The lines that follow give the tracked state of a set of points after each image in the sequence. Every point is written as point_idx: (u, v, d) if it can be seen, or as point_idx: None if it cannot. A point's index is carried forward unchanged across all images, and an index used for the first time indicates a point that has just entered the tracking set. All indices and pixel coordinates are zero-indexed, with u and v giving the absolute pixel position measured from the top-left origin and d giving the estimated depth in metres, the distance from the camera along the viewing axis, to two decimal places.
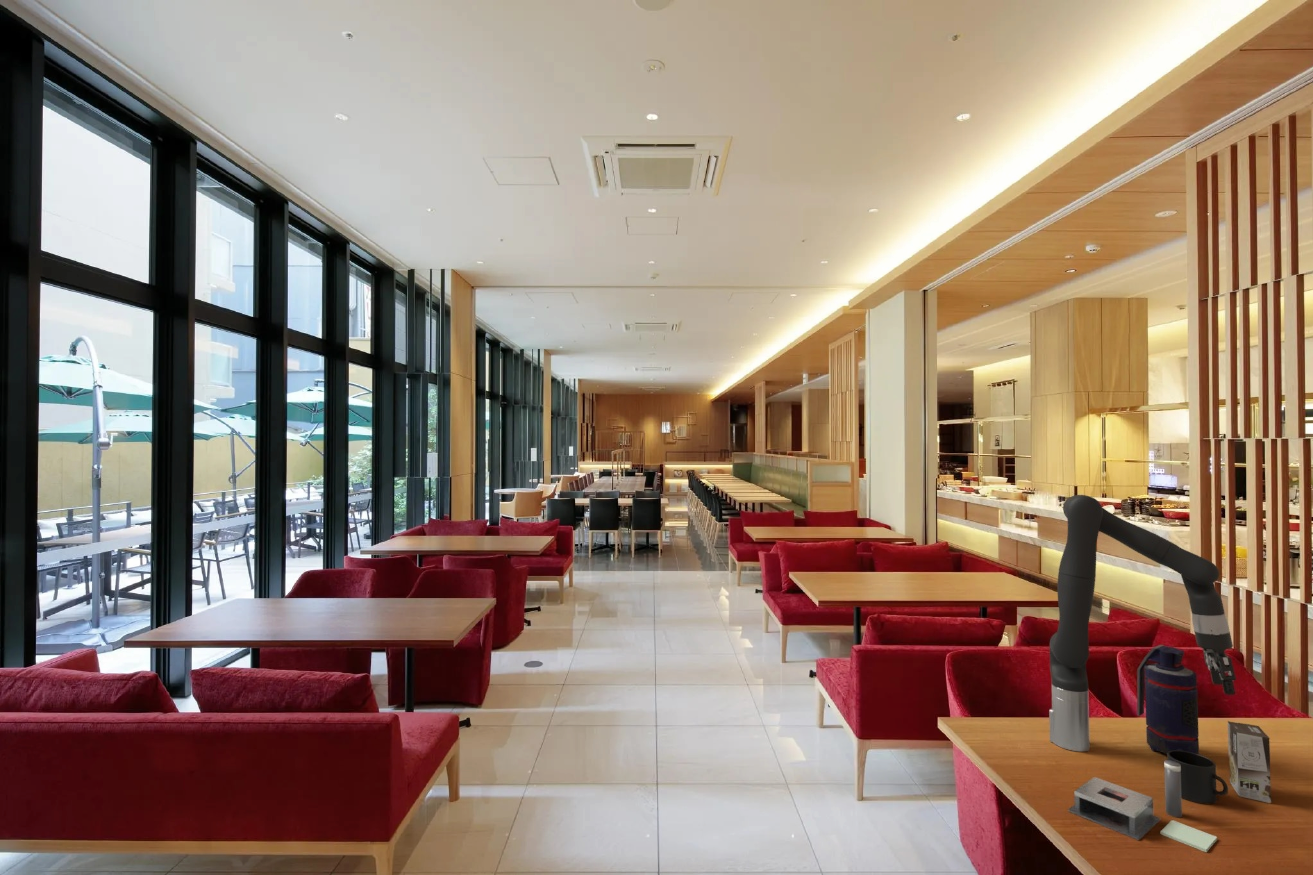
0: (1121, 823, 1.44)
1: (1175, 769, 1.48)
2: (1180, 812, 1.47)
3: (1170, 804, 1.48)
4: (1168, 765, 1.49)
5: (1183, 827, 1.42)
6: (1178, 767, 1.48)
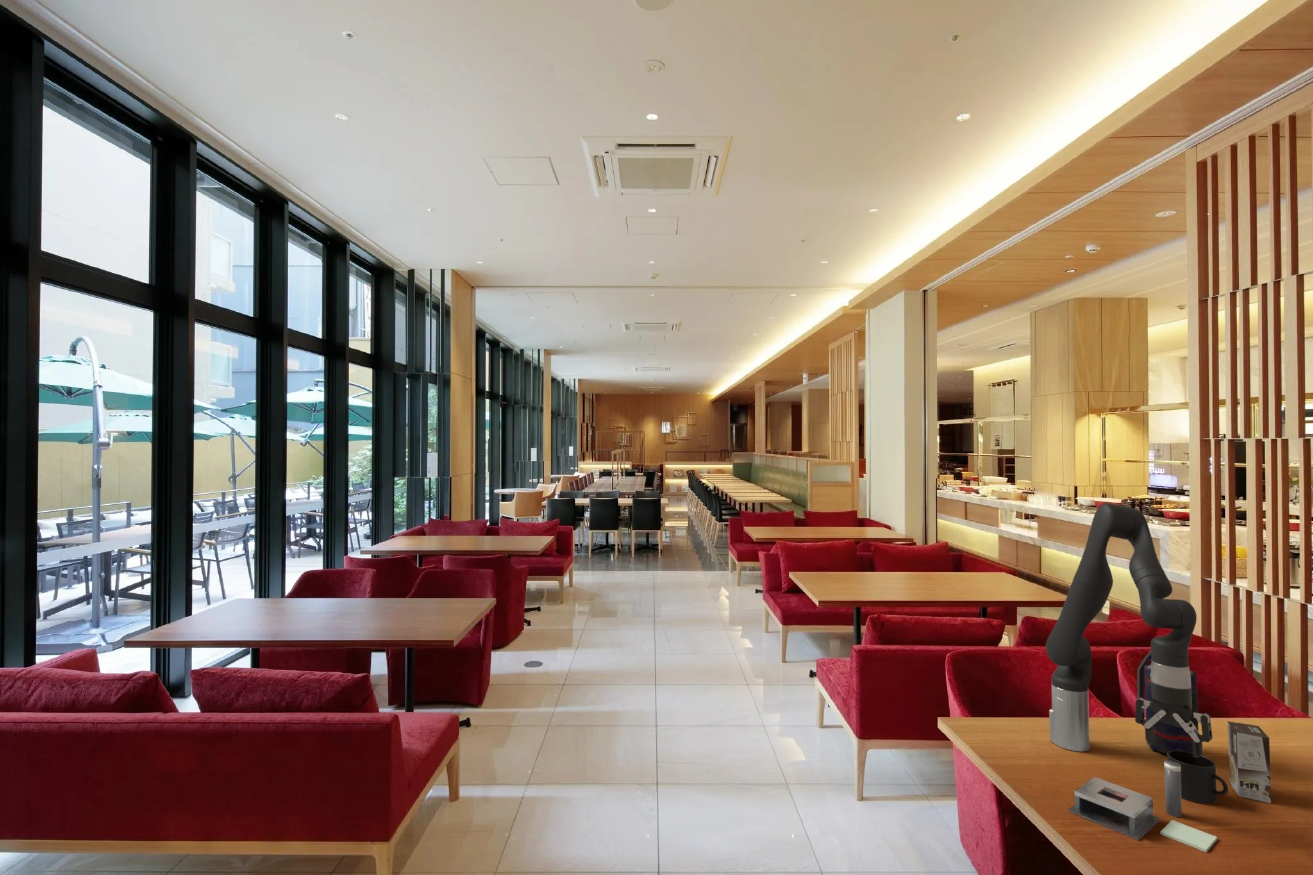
0: (1121, 823, 1.44)
1: (1175, 769, 1.48)
2: (1180, 812, 1.47)
3: (1170, 804, 1.48)
4: (1168, 765, 1.49)
5: (1183, 827, 1.42)
6: (1178, 767, 1.48)
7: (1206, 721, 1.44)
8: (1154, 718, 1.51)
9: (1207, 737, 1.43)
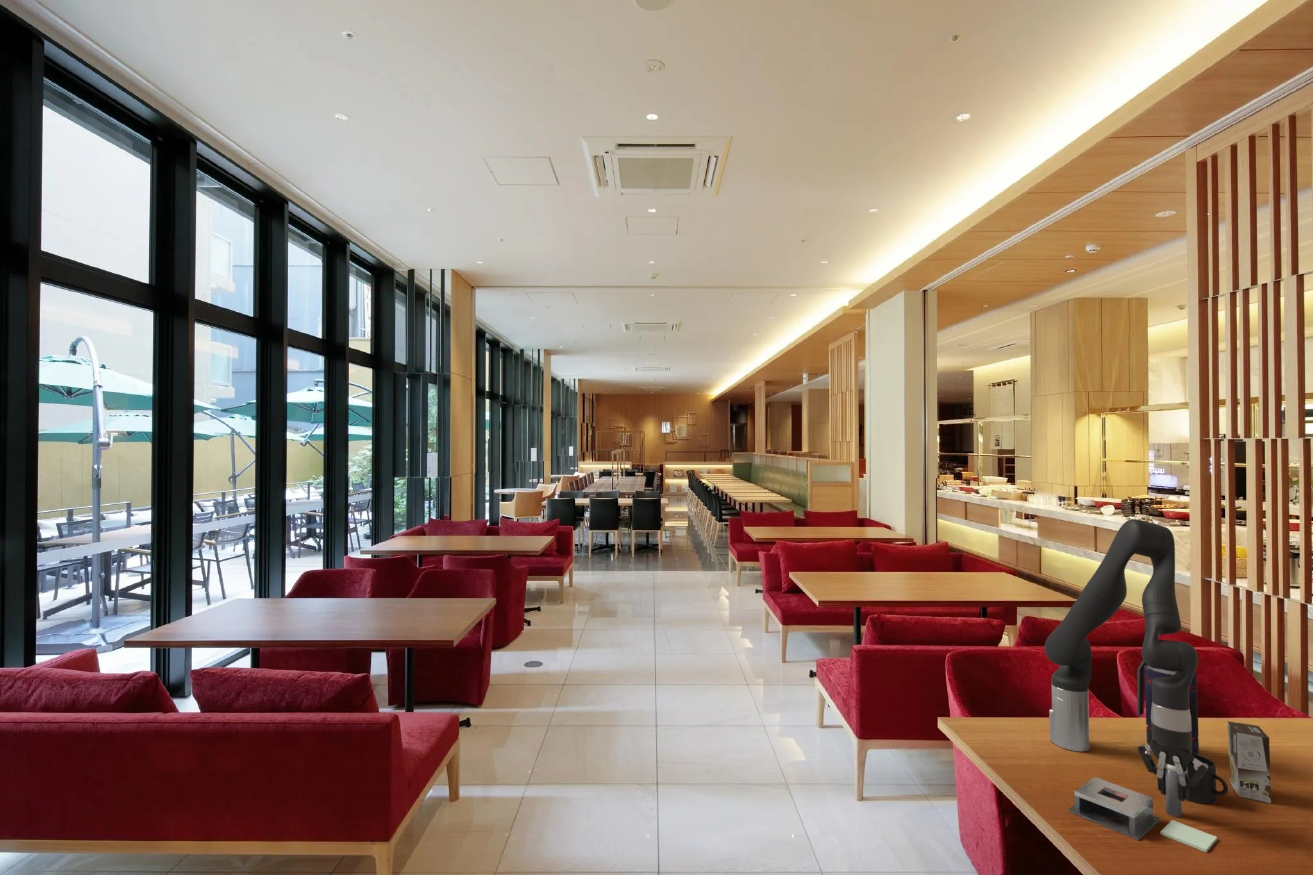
0: (1121, 823, 1.44)
1: (1175, 769, 1.48)
2: (1180, 812, 1.47)
3: (1170, 804, 1.48)
4: (1168, 765, 1.49)
5: (1183, 827, 1.42)
6: None
7: (1203, 771, 1.44)
8: (1160, 763, 1.50)
9: (1194, 783, 1.45)
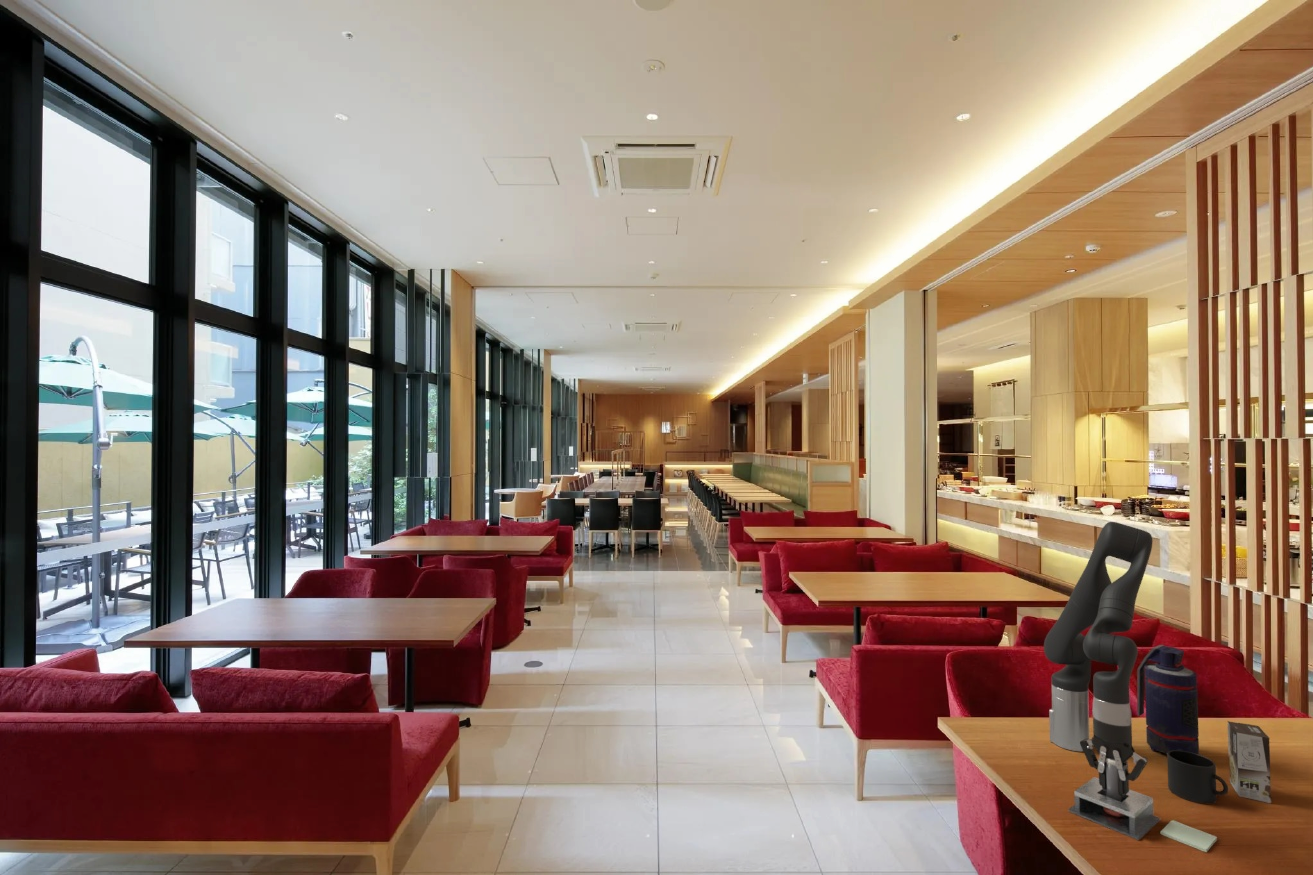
0: (1121, 823, 1.44)
1: (1115, 763, 1.47)
2: None
3: None
4: (1109, 759, 1.48)
5: (1183, 827, 1.42)
6: None
7: (1142, 765, 1.43)
8: (1101, 758, 1.49)
9: (1134, 777, 1.44)
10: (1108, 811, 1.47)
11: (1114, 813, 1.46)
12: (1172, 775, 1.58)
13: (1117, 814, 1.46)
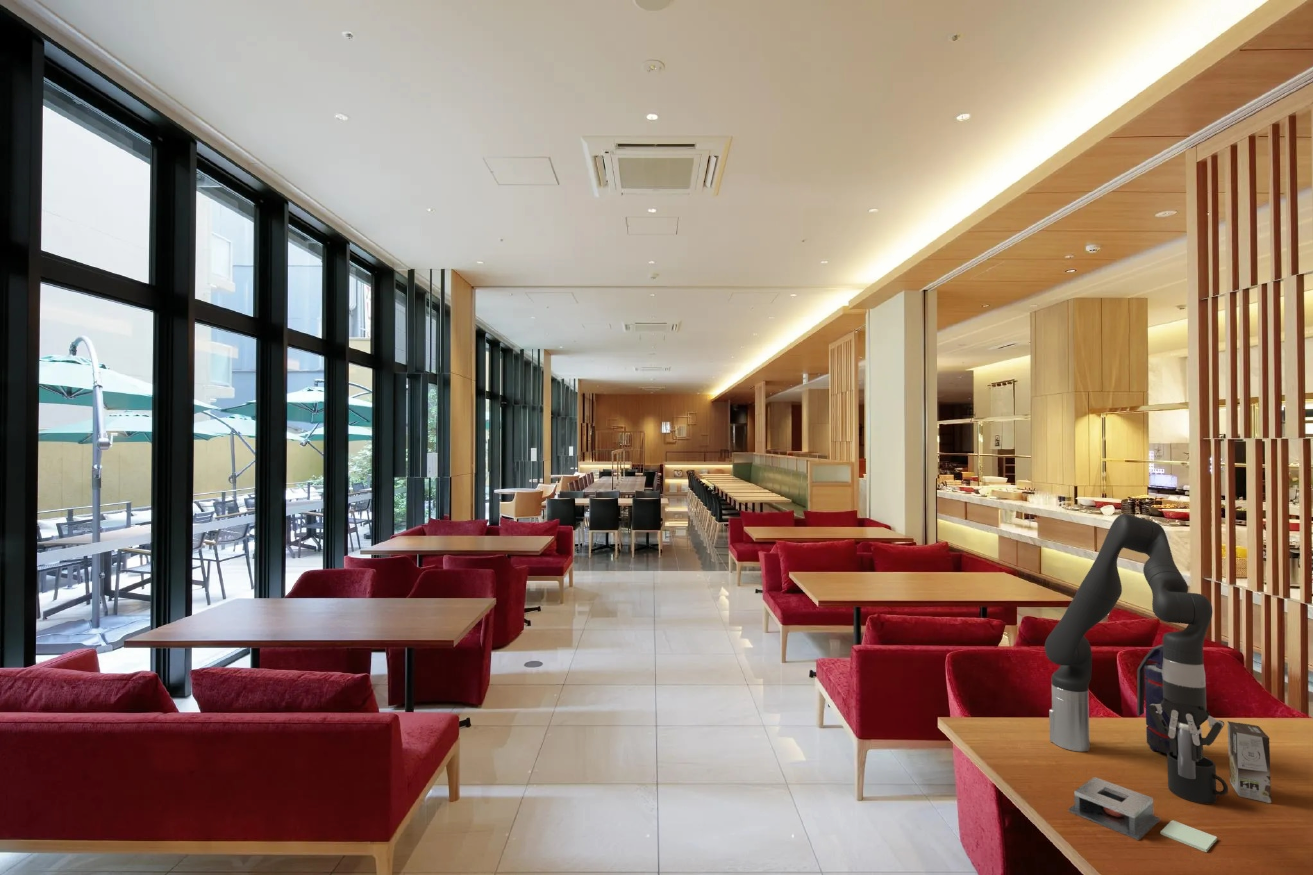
0: (1121, 823, 1.44)
1: (1188, 728, 1.39)
2: (1194, 773, 1.39)
3: (1183, 765, 1.40)
4: (1181, 724, 1.40)
5: (1183, 827, 1.42)
6: None
7: (1218, 729, 1.35)
8: (1172, 722, 1.41)
9: (1209, 741, 1.36)
10: (1108, 811, 1.47)
11: (1114, 813, 1.46)
12: (1172, 775, 1.58)
13: (1117, 814, 1.46)
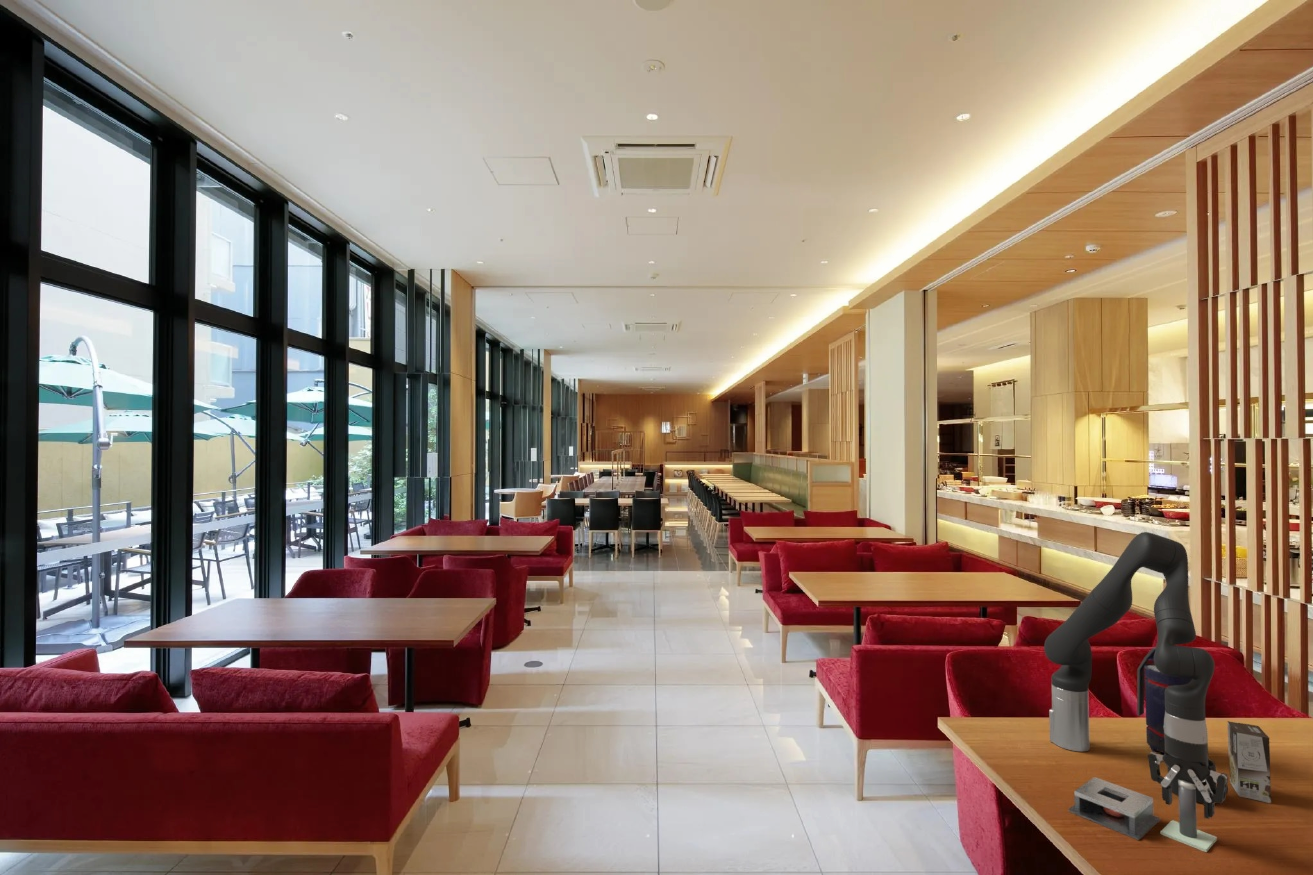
0: (1121, 823, 1.44)
1: (1190, 787, 1.39)
2: (1195, 832, 1.38)
3: (1184, 823, 1.39)
4: (1182, 782, 1.39)
5: None
6: (1193, 784, 1.38)
7: (1223, 782, 1.34)
8: (1170, 774, 1.41)
9: (1220, 798, 1.34)
10: (1108, 811, 1.47)
11: (1114, 813, 1.46)
12: None
13: (1117, 814, 1.46)
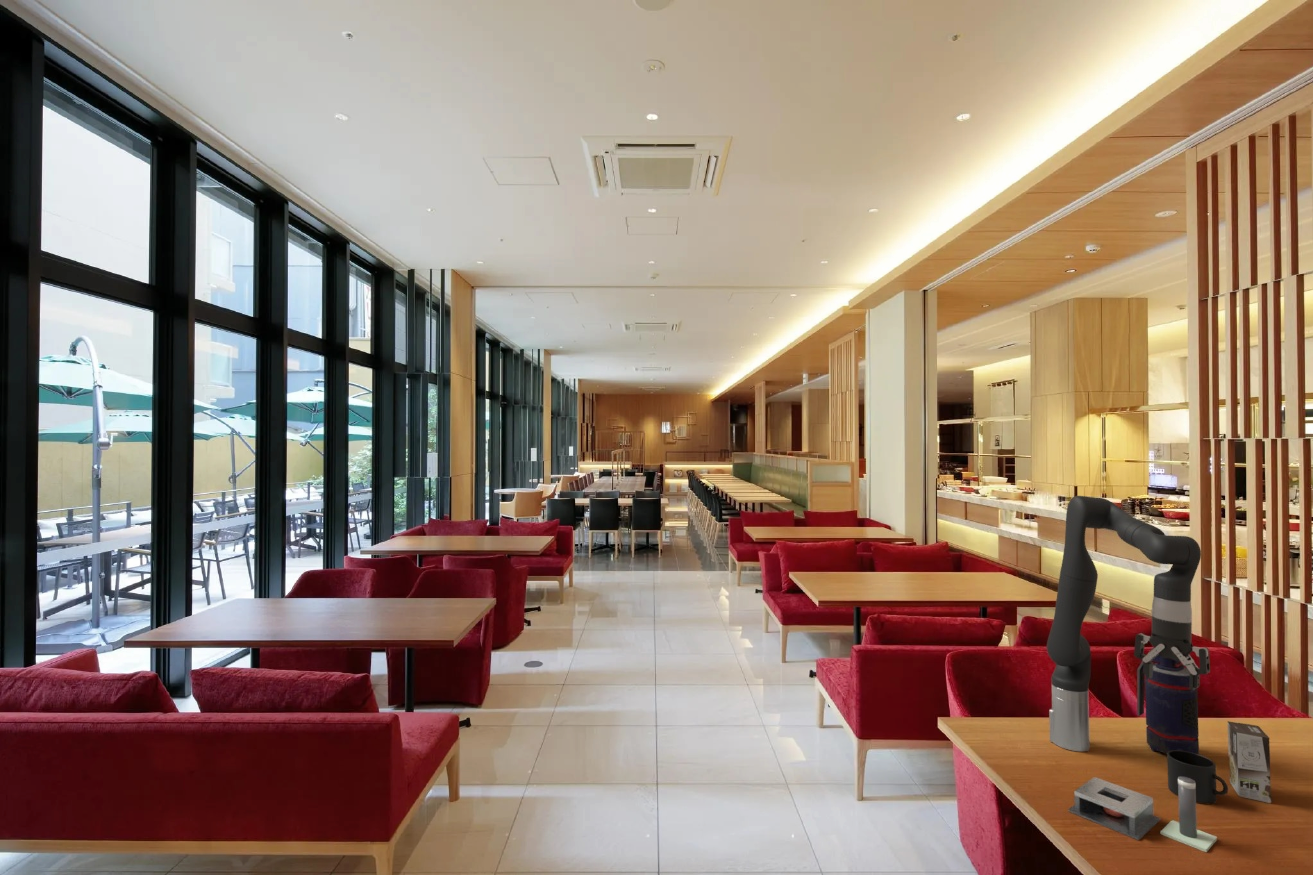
0: (1121, 823, 1.44)
1: (1190, 786, 1.39)
2: (1195, 832, 1.38)
3: (1184, 823, 1.39)
4: (1182, 782, 1.40)
5: None
6: (1193, 784, 1.39)
7: (1204, 654, 1.45)
8: (1153, 652, 1.53)
9: (1204, 669, 1.45)
10: (1108, 811, 1.47)
11: (1114, 813, 1.46)
12: (1172, 775, 1.58)
13: (1117, 814, 1.46)
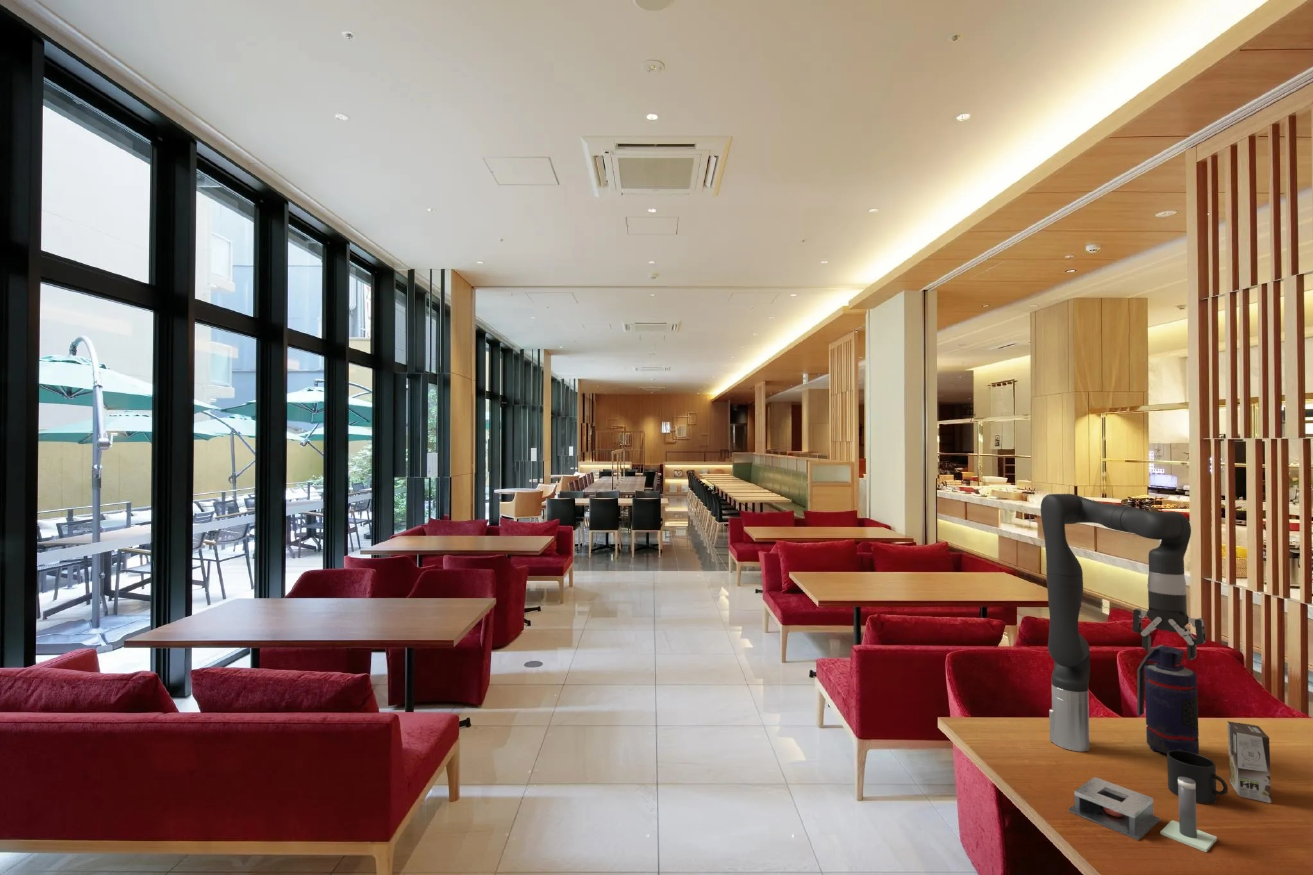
0: (1121, 823, 1.44)
1: (1190, 786, 1.39)
2: (1195, 832, 1.38)
3: (1184, 823, 1.39)
4: (1182, 782, 1.39)
5: None
6: (1193, 784, 1.39)
7: (1200, 624, 1.50)
8: (1151, 625, 1.58)
9: (1201, 639, 1.50)
10: (1108, 811, 1.47)
11: (1114, 813, 1.46)
12: (1172, 775, 1.58)
13: (1117, 814, 1.46)
